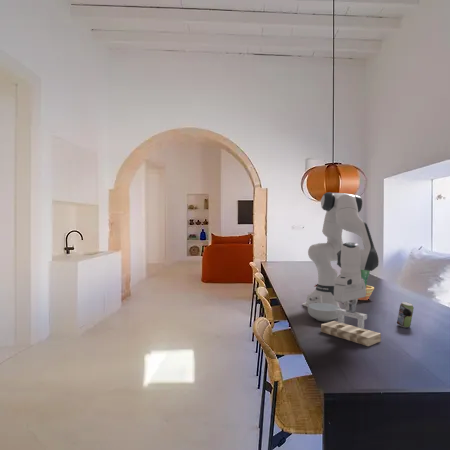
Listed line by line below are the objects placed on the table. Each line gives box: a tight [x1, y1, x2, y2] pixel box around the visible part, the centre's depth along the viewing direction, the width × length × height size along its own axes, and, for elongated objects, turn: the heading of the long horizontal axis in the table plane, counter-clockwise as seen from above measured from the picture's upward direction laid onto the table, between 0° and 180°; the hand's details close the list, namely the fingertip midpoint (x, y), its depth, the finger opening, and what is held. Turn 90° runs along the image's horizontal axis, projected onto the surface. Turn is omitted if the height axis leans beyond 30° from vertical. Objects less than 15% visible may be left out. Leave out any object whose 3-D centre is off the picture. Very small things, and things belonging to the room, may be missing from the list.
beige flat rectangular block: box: [320, 320, 382, 347], centre depth 160 cm, size 24×10×4 cm, turn 37°
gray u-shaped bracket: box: [336, 301, 368, 329], centre depth 160 cm, size 14×3×10 cm, turn 38°
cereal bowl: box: [307, 303, 342, 323], centre depth 187 cm, size 17×17×7 cm
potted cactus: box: [358, 270, 375, 301], centre depth 237 cm, size 16×15×25 cm
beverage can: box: [396, 301, 415, 329], centre depth 175 cm, size 6×7×12 cm
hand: (350, 309), depth 160 cm, fingers closed on gray u-shaped bracket, 3 cm apart
